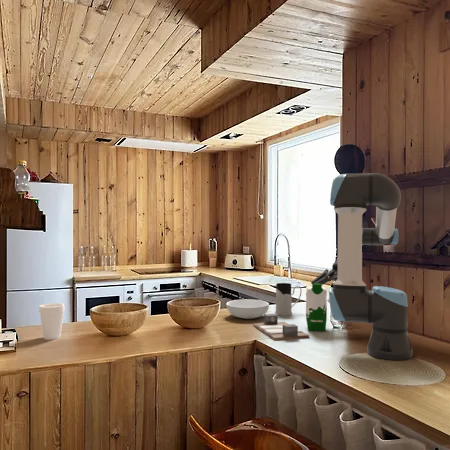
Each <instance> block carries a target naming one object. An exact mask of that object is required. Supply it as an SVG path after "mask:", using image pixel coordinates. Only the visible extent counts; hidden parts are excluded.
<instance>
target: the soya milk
mask: <svg viewBox="0 0 450 450" xmlns="http://www.w3.org/2000/svg"><path fill="white" fill-rule="evenodd" d="M311 285H312V286H306V290H305V291H306V292H305V320H306V324H307V325H306V326H307V330H308V331H310V332H312V331H313V332H326V329H327V316H328V315H327V314H328V312H327V311H328V309H327V307H328V301H327V300H328V299H327V298H328V297H327V296H328V294H327V289H326V287H324V286H323V285H322V284H320V283H313V284H311Z"/></svg>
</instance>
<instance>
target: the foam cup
mask: <svg viewBox="0 0 450 450" xmlns="http://www.w3.org/2000/svg"><path fill="white" fill-rule="evenodd" d="M65 306H66V305H65V304H64V303H62V302H60V303H59V302H54V303H52V302H51V303H43V304H40V305H39V306H38V307H39V309H38V310H39V311H38V312H39V314H40V323H41V331H42V335H43V340H47V341H49V340H51V341H52V340H58V339H60V338H61V337H62V335H61V334H62V328H63V322H64V321H63V320H64V313H65V311H66V310H65V309H66V307H65Z"/></svg>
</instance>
